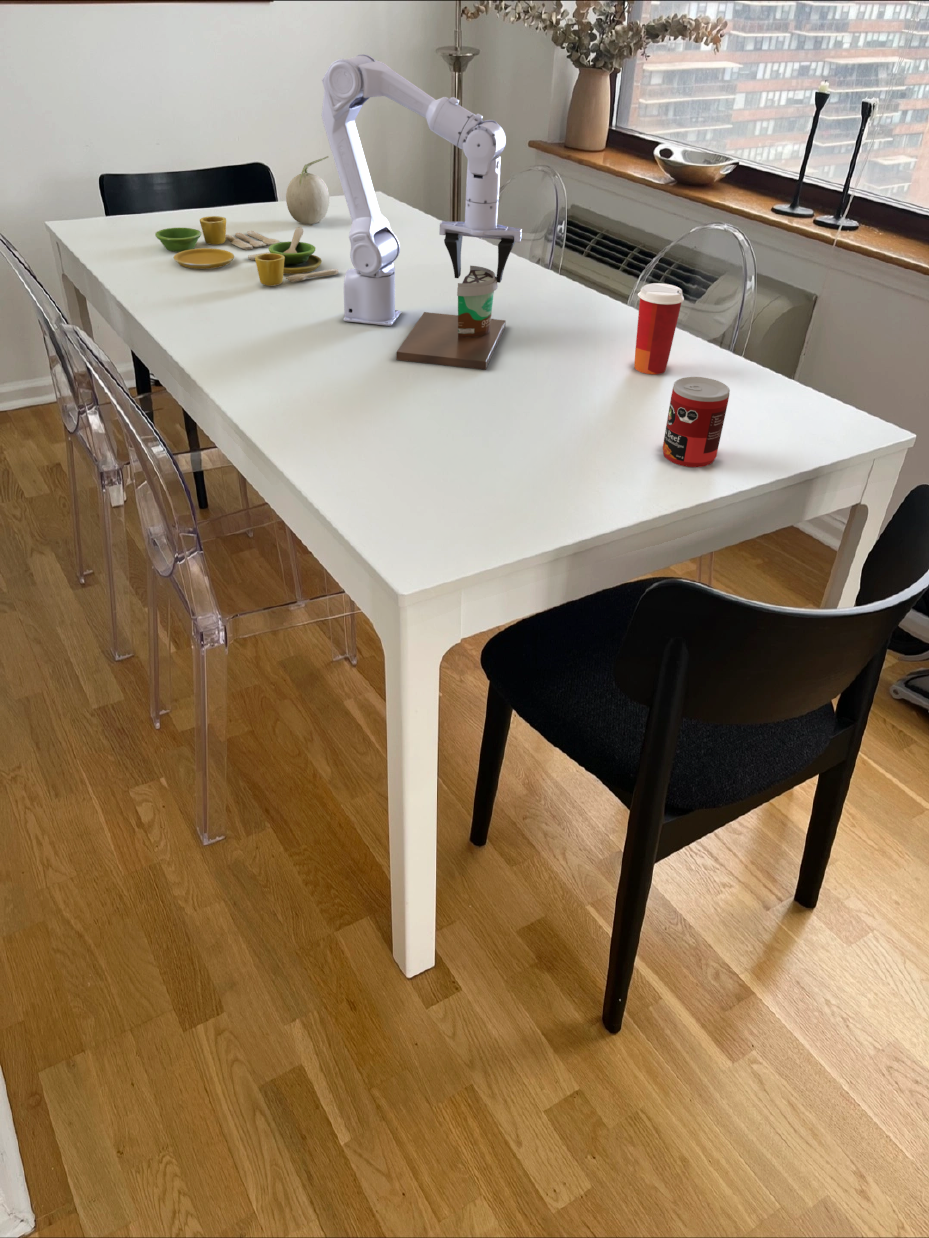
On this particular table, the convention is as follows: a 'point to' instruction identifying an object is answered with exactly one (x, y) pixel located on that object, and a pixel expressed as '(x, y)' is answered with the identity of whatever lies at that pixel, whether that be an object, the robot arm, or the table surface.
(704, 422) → the canned food
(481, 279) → the food container
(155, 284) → the table surface
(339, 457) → the table surface
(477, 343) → the walnut board
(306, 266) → the tableware set
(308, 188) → the fruit
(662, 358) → the paper cup
